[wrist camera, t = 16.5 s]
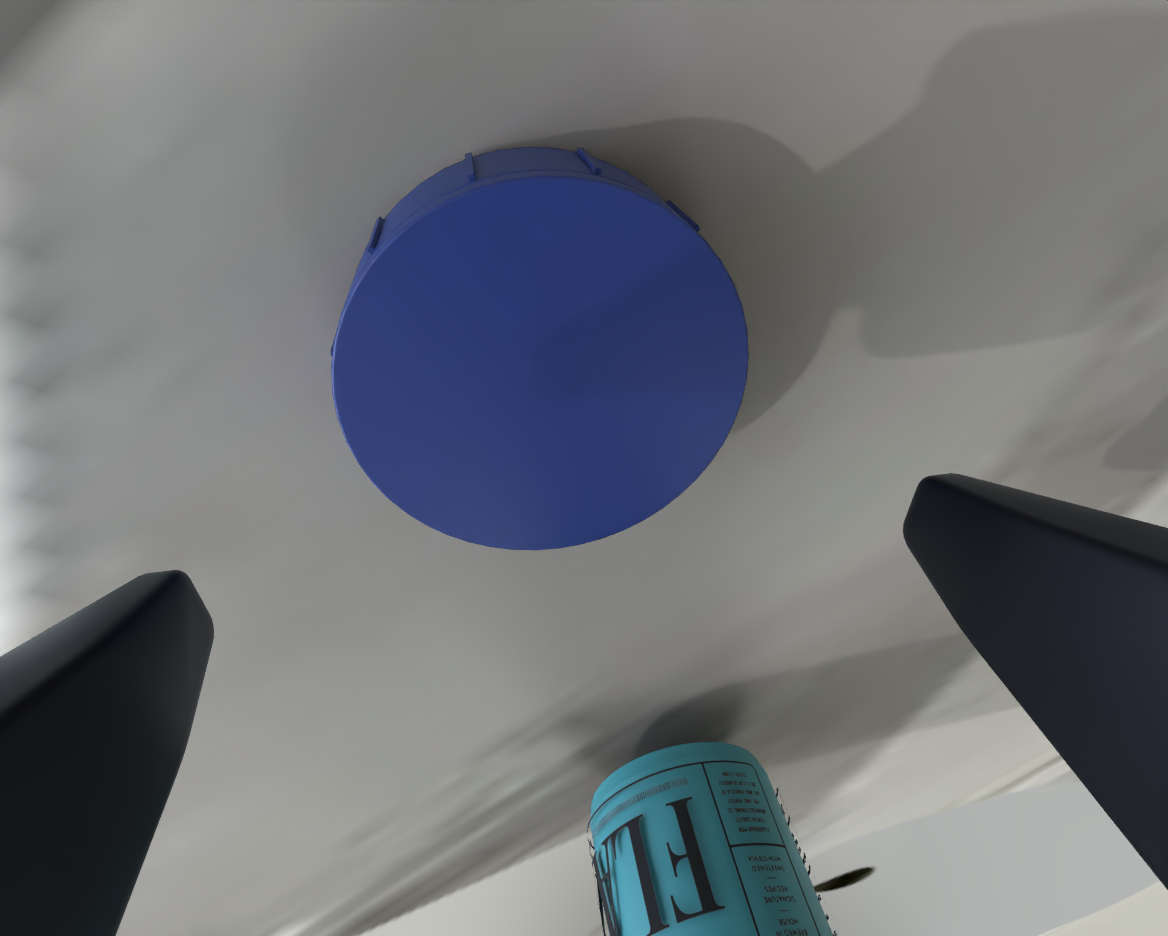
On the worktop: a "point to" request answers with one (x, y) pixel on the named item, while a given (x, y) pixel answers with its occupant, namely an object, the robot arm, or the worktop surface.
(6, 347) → the worktop surface
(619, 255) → the jar lid
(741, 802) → the beverage bottle
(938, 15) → the worktop surface
